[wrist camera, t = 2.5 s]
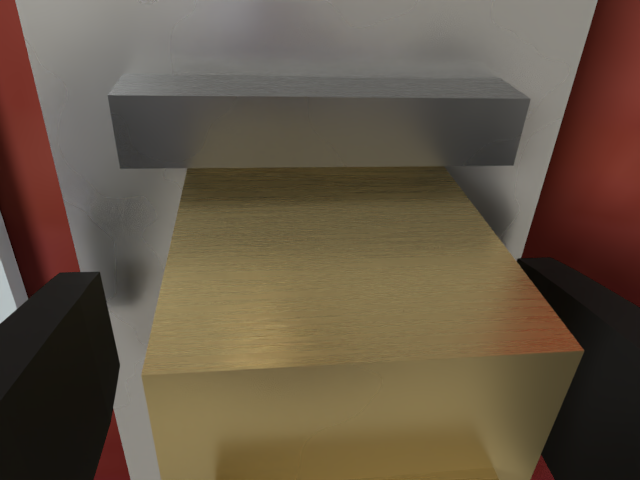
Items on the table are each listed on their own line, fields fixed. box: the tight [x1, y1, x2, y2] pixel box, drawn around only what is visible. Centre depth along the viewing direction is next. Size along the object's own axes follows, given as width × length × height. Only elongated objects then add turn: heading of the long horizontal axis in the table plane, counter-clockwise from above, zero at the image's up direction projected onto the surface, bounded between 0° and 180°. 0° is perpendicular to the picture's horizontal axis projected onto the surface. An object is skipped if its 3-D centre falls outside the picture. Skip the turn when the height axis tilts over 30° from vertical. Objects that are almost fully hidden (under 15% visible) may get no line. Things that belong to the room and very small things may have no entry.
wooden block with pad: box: [141, 166, 584, 480], centre depth 8 cm, size 5×4×5 cm
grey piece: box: [15, 0, 598, 480], centre depth 10 cm, size 20×8×6 cm, turn 177°
